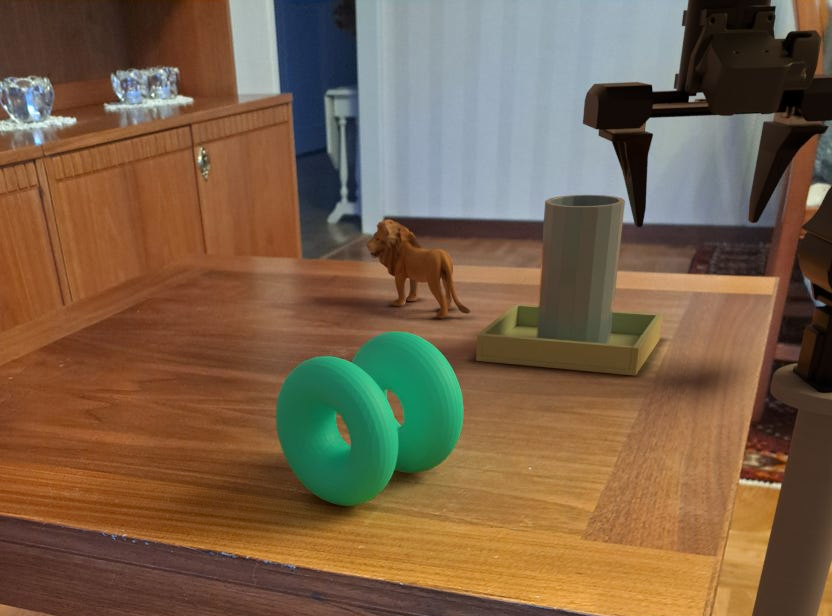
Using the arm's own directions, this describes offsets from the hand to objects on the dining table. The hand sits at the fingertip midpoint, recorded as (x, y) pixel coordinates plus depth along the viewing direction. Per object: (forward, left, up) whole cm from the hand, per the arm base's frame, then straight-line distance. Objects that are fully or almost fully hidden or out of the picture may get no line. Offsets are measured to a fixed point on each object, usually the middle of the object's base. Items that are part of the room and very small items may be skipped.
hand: (695, 224), depth 76 cm
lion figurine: (+21, -30, -13) cm, 39 cm away
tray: (+7, -11, -13) cm, 18 cm away
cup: (+7, -11, -13) cm, 18 cm away
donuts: (+27, +20, -13) cm, 36 cm away
